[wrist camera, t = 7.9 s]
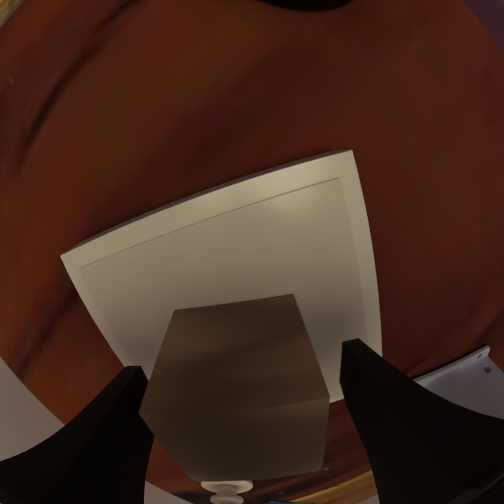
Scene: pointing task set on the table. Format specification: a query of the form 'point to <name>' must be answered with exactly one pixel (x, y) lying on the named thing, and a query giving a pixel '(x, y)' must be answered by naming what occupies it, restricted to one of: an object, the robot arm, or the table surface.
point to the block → (239, 392)
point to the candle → (227, 491)
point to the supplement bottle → (312, 3)
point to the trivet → (240, 260)
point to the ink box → (278, 503)
